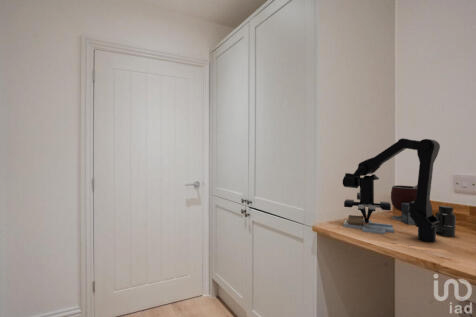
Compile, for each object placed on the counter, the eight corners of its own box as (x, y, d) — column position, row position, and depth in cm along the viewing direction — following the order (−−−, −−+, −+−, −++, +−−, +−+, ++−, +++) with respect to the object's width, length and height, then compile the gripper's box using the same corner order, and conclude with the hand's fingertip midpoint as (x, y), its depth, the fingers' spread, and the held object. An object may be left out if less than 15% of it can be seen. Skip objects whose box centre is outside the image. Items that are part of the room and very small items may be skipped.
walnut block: (362, 227, 121) (362, 218, 121) (348, 225, 124) (348, 217, 124) (363, 224, 125) (363, 216, 125) (349, 223, 128) (349, 215, 128)
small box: (423, 224, 132) (423, 202, 132) (431, 227, 126) (431, 205, 126) (400, 223, 133) (400, 202, 133) (407, 226, 127) (407, 204, 127)
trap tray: (391, 226, 127) (391, 222, 126) (395, 238, 109) (395, 233, 109) (345, 221, 135) (345, 217, 135) (342, 231, 118) (342, 226, 118)
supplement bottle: (446, 237, 111) (447, 208, 110) (430, 233, 117) (431, 205, 117) (459, 236, 112) (460, 207, 112) (443, 231, 119) (443, 204, 119)
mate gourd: (394, 221, 137) (394, 182, 137) (387, 215, 150) (388, 179, 150) (429, 224, 132) (430, 183, 132) (420, 217, 146) (420, 180, 145)
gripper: (389, 188, 125) (389, 221, 126) (346, 186, 134) (346, 217, 134) (390, 191, 115) (390, 227, 116) (344, 188, 124) (343, 222, 124)
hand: (366, 223), depth 123 cm, fingers closed
